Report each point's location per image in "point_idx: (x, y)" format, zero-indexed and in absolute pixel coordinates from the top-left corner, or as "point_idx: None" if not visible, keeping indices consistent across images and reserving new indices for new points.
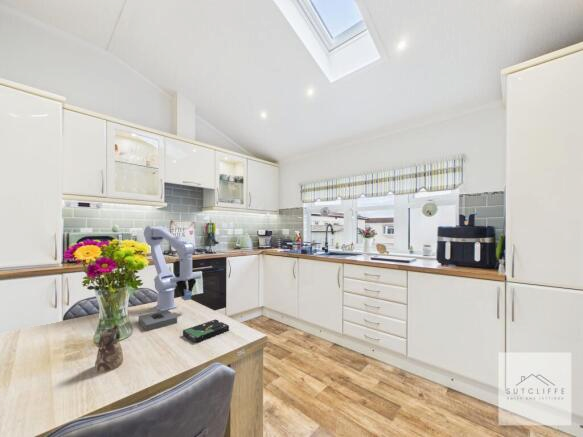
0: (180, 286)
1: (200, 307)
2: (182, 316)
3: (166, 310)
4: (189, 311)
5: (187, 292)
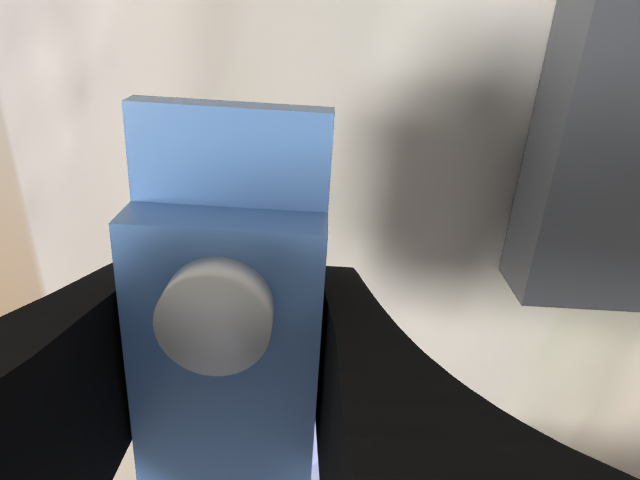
0: (536, 436)
1: (46, 211)
2: (395, 36)
3: (552, 268)
4: None
5: (243, 220)
